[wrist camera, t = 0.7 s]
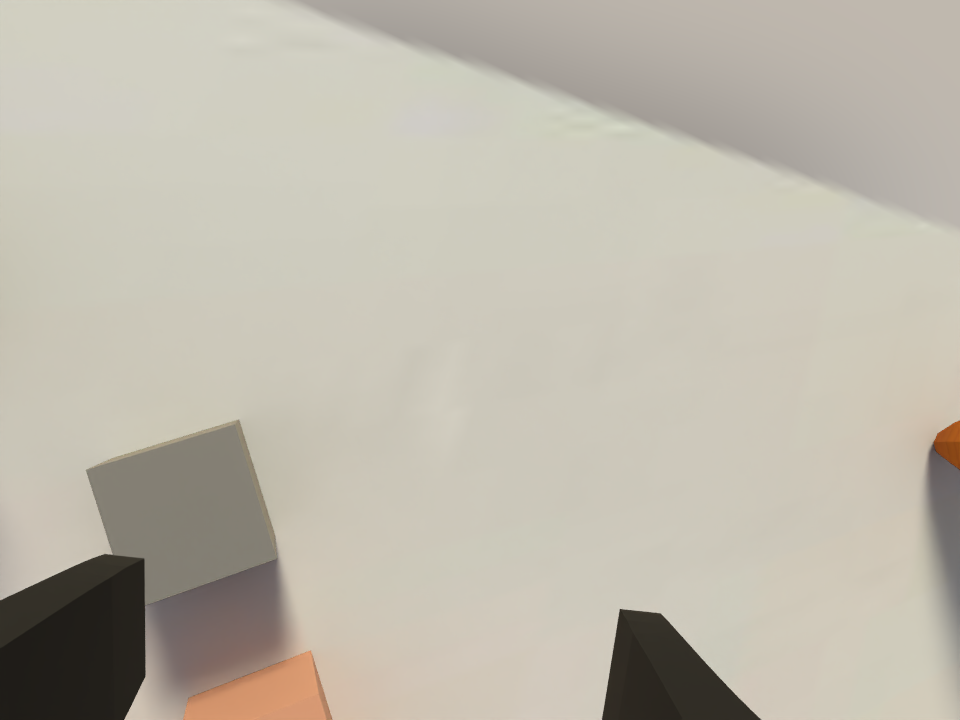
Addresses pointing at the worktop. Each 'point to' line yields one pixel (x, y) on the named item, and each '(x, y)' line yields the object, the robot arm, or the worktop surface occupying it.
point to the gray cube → (186, 510)
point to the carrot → (949, 444)
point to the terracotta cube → (266, 695)
